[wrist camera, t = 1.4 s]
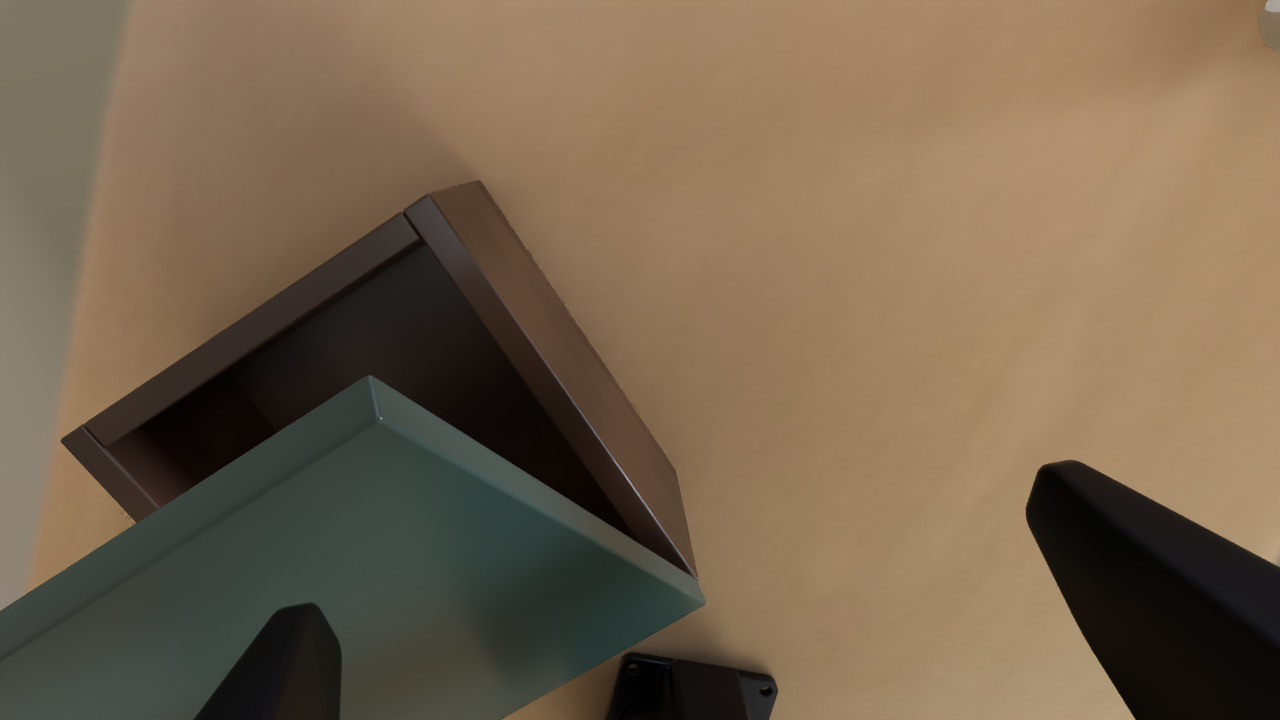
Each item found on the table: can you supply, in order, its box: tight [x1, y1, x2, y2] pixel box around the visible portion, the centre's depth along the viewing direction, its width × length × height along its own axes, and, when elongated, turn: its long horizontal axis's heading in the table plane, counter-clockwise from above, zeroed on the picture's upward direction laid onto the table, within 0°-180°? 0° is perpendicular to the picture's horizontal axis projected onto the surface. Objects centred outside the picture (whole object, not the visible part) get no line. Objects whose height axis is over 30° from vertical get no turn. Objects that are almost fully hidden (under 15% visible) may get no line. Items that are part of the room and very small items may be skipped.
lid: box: [0, 375, 706, 720], centre depth 16 cm, size 13×12×1 cm
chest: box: [61, 180, 698, 581], centre depth 23 cm, size 13×12×7 cm
